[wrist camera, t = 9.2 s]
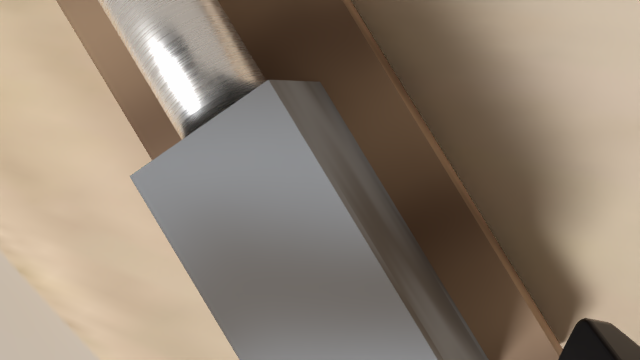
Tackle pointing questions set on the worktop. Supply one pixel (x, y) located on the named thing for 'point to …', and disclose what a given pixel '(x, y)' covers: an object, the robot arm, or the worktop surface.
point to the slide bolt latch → (321, 201)
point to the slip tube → (186, 56)
